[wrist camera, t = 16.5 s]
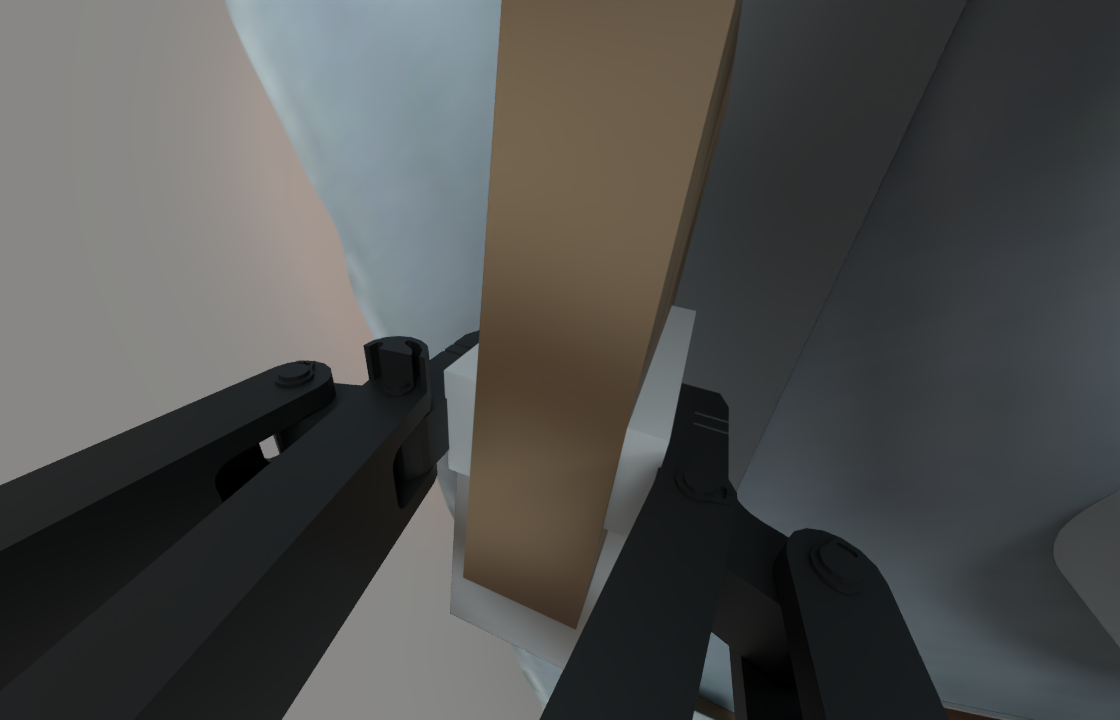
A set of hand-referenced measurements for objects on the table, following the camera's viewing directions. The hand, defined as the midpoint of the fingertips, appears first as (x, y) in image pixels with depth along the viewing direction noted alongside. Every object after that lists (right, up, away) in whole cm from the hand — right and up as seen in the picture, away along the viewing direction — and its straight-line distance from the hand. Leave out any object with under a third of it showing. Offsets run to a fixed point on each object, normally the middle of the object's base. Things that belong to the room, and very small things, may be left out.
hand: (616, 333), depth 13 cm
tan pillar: (0, -2, +2) cm, 3 cm away
